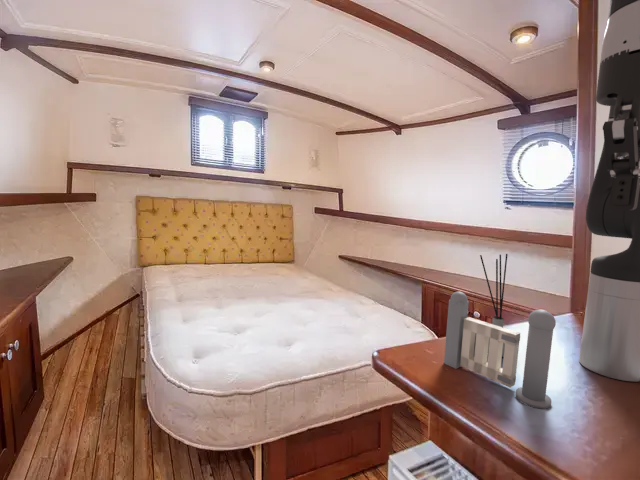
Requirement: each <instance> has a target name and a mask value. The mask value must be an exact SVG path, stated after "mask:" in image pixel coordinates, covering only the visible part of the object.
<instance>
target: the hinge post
mask: <svg viewBox="0 0 640 480" xmlns="http://www.w3.org/2000/svg"><path fill="white" fill-rule="evenodd" d="M527 321H528V333H527V341H526V348H525V349H526V350H525V351H526V352H525V358H524V359H525V360H524V368H523V369H524V370H523V379H522V387H518V388H516V389H515V395H514V396H515V397H516V399H517V400H518V401H519V402H521V403H522V404H525V405H526V406H529V407H532V408H534V409H542V410H545V409H549V408H551V406H552V402H553V401H552V399H551V397H550V396H549V395H548V394H546V393H547V386H548V385H547V384H548V377H549V369H550V361H551V352H552V343H553V342H552V341H553V336H554V335H553V334H554V329H555V327H556V323H557V322H556V318H555V317H554V315H553V314H552V312H550V311H547V310H546V309H535V310H533V311H531V312H530V314H529V315H528V318H527Z"/></svg>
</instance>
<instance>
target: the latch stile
mask: <svg viewBox="0 0 640 480" xmlns="http://www.w3.org/2000/svg"><path fill="white" fill-rule="evenodd" d="M469 303H470V301H469V300H468V297H467V294H466V293H464V292H462V291H460V290H459V291H458V290H457V291H455V292H453V293H452V294H451V295H450V299H449V300H448V307H447V320H446V331H445V332H446V334H445V345H444V357H443V358H444V359H443V364H444V365H447V366H449V367H450V368H453V369H459V368H460V367H462V366H460V362H461V350H462V338H463V326H464V319H465V318H468V317H469V316H468V314H469ZM476 334H477V333H475V345H476ZM475 345H474V356H475ZM474 356H473V357H474Z"/></svg>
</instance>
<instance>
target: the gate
mask: <svg viewBox="0 0 640 480" xmlns="http://www.w3.org/2000/svg"><path fill="white" fill-rule="evenodd" d="M475 333H477V334H476V345H475ZM489 338H490V344H489ZM520 341H521V332H518V331H515V330H512V329H510V328H509V329H508V328H506V327H504V326H503V327H500V326H496V325H493V324H492V323H489V322H487V321H483V320H480V319H477V318H473V317H470V316H468V317H467V318H465V319H464V326H463V338H462V350H461V362H460V366H461V367H462V368H465V369H467V370H468V371H469V370H470V371H471V372H473V373H474V372H475V373H476V374H478V375H481V376H482V377H486V378H487V379H489V380H492V381H494V382H497V383H498V384H501V385H503V386H505V387H508V388H512V387H514V386H515V385H516V380H517V368H518V359H519V358H518V357H519V351H520ZM503 342H504V343H505V350H504V356H502V349H503ZM474 345H475V356H474ZM488 345H489V354H488ZM473 356H474V357H473ZM502 357H503V359H502ZM502 360H503V361H502Z"/></svg>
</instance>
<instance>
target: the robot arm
mask: <svg viewBox="0 0 640 480" xmlns="http://www.w3.org/2000/svg"><path fill="white" fill-rule="evenodd" d="M607 19H608V20H607V25H606V28H605V31H604V36H603V40H602V44H601V45H602V46H601V53H600V62H599V68H598V69H599V70H598V76H597V77H598V78H597V86H596V93H595V100H596V102H597V103H598V104H599V105H602V106H606V107H609V113H608V119H607V121H604V123H603V125H602V131H603V140H604V141H603V145H602V151H601V154H600V157H599V162H598V164H597V168H596V172H595V176H594V178H593V181H592V186H591V189H590V193H589V196H588V200H587V204H586V209H585V210H586V211H585V213H586V214H585V221H586V226H587V228H588V230H589V231H590V232H591V233H592V234H593V235H596V236H601V237H609V238H622V239H623V238H624V239H631V241H630V243H629V244H630V245H629V246H628V247H627V248H626V249H625V250H623V251H621V252H618V253H614V254H608V255H601V256H596V257H594V258H593V259H592V261H591V265H590V271H589V279H588V280H589V281H588V288H587V296H586V303H585V304H586V305H585V313H584V319H583V326H582V336H581V342H580V350H579V359H578V361H579V363H580V364H581V365H582V366H583V367H584V368H586V369H587V370H590V371H591V372H594V373H596V374H599V375H601V376H605V377H607V378H611V379H614V380H619V381H623V382H640V0H610V2H609V7H608V17H607Z"/></svg>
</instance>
